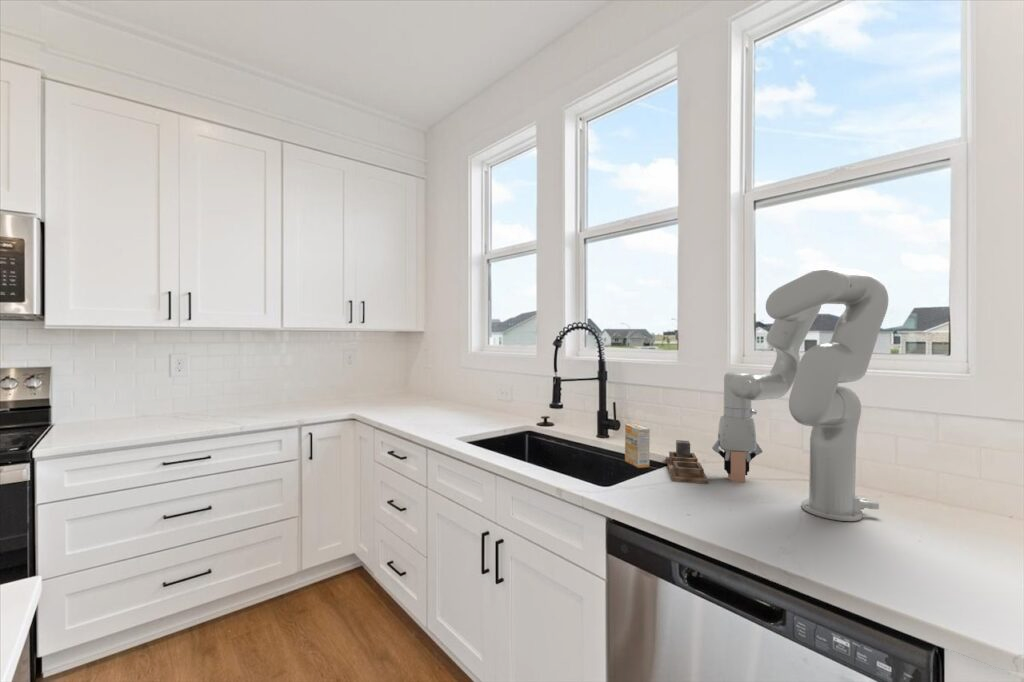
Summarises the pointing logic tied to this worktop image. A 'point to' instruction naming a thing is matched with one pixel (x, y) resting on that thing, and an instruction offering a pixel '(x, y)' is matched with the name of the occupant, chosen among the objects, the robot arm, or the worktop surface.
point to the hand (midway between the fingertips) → (736, 472)
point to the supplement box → (637, 445)
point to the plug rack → (685, 464)
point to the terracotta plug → (737, 466)
